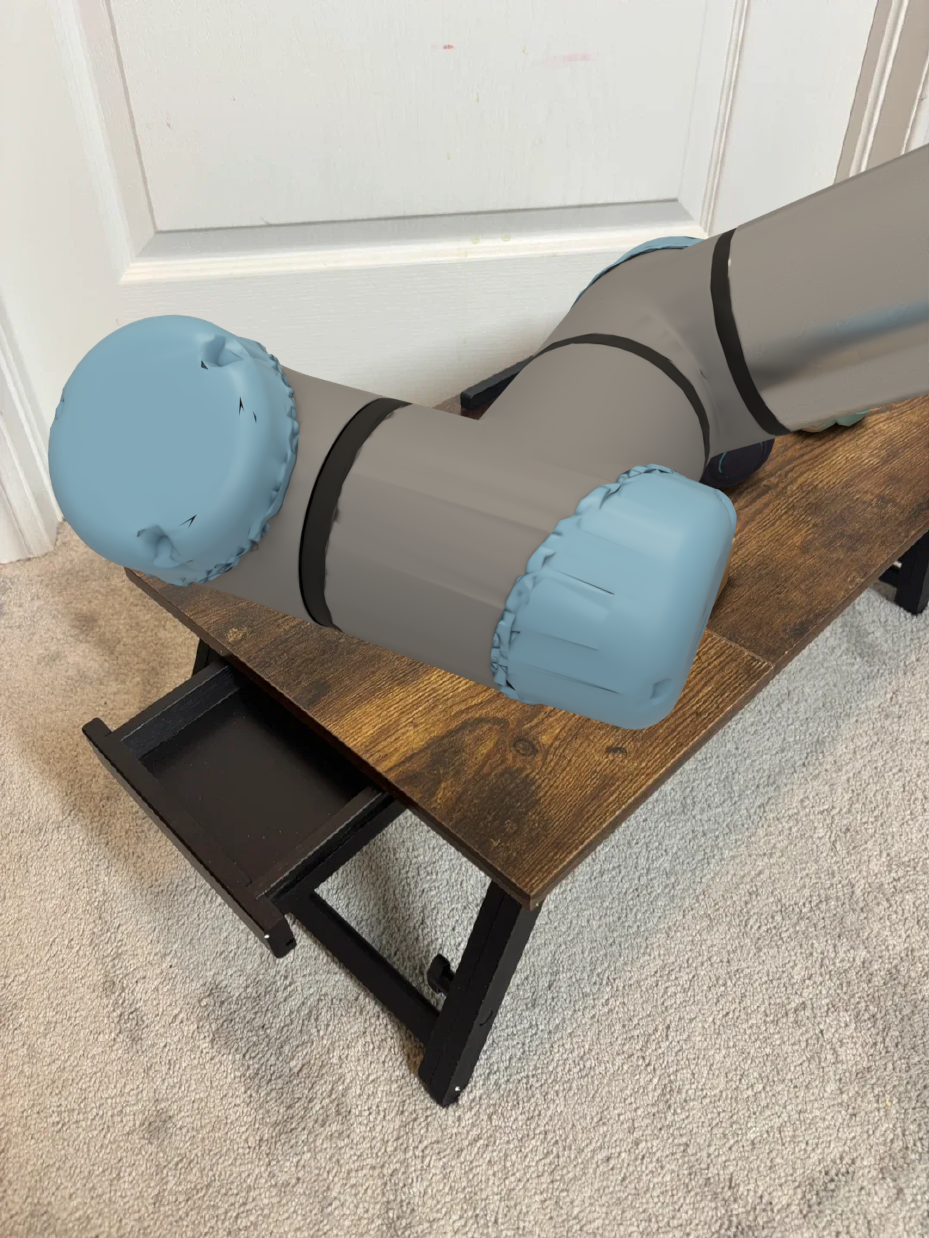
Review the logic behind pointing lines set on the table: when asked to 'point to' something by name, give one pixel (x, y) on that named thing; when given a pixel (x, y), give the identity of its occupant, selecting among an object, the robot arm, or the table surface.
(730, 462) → the portable speaker
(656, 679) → the robot arm
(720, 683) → the table surface
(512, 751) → the table surface
